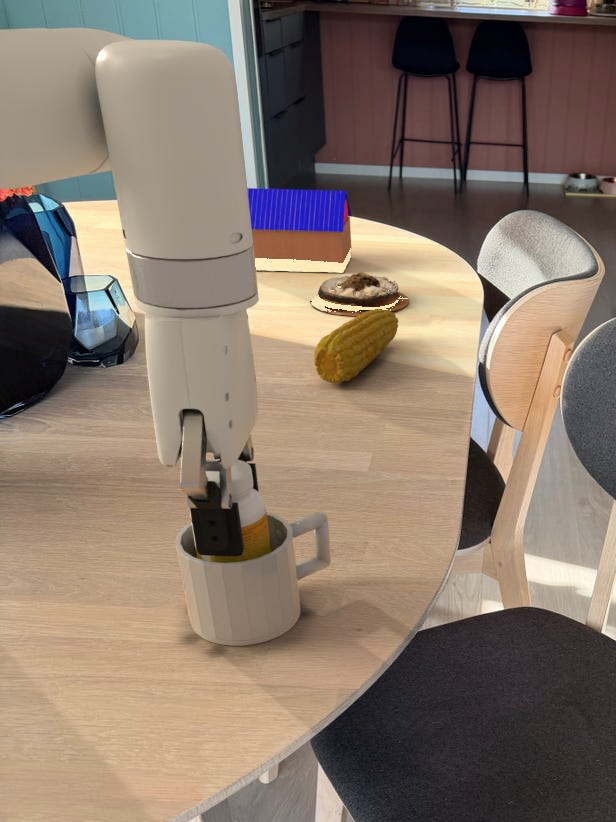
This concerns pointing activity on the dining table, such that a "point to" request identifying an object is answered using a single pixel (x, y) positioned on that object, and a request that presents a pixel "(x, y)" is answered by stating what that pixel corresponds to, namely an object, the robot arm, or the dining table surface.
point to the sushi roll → (361, 293)
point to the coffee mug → (250, 584)
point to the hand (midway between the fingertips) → (230, 530)
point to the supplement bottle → (245, 515)
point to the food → (354, 345)
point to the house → (300, 224)
